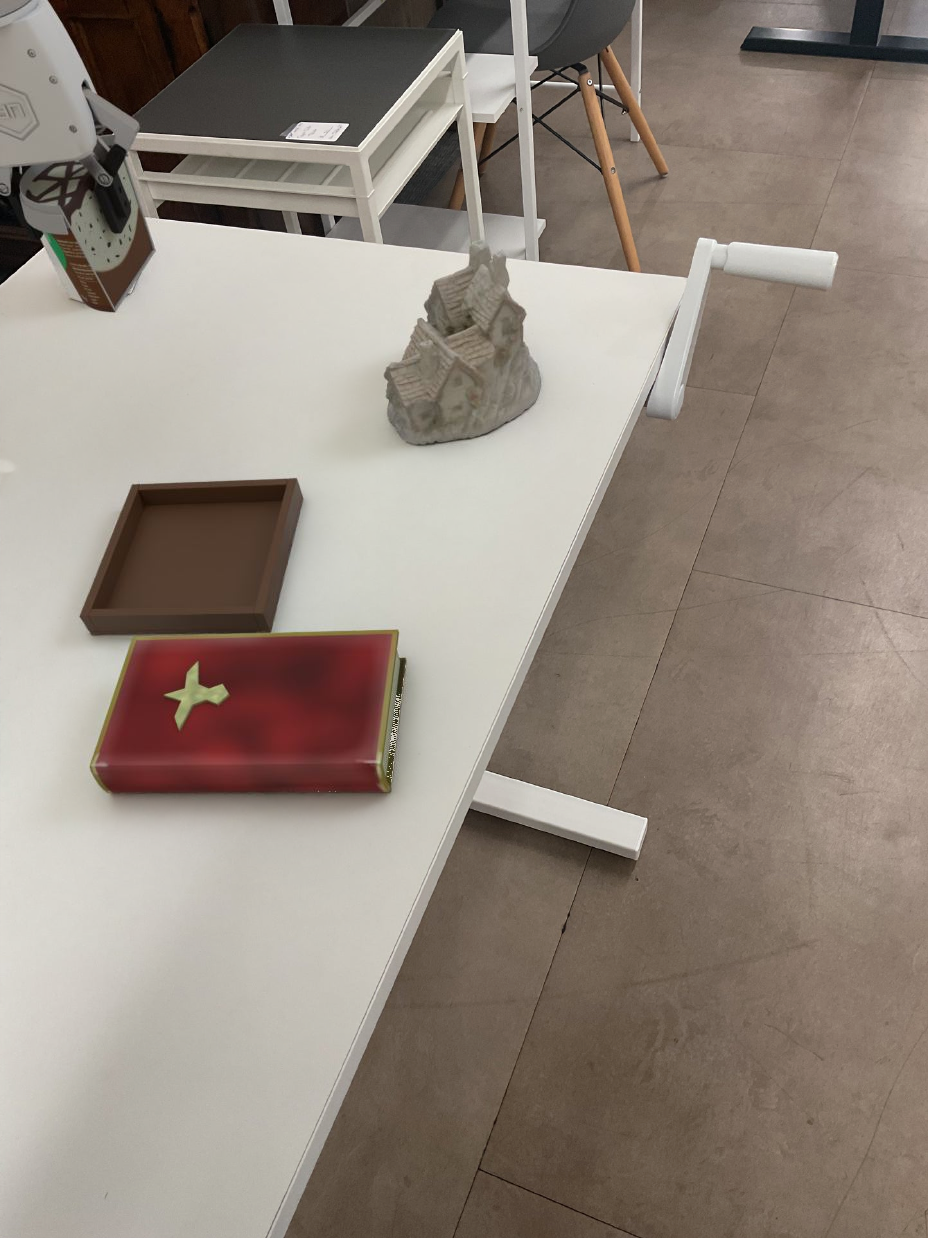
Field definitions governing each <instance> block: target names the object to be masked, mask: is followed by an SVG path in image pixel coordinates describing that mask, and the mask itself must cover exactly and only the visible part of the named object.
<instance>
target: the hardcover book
mask: <svg viewBox="0 0 928 1238" xmlns="http://www.w3.org/2000/svg"><path fill="white" fill-rule="evenodd" d="M399 635H400V631H399V629H397V628H396V629H367V630H364V629H362V630H332V631H331V630H329V631H327V630H325V631H324V630H323V631H287V632H285V631H284V632H283V631H281V632H252V633H205V634H166V635H140V636H139V635H136V636H135V635H134V636H132V637H131V641H130V643H129V646H128V649H127V653H126V656H125V658H124V661H123V665H122V668H121V670H120V673H119V677H118V679H117V683H116V685H115V689H114V692H113V695H112V697H111V700H110V703H109V706H108V708H107V712H106V714H105V718H104V721H103V724H102V728H101V730H100V732H99V737H98V739H97V742H96V745H95V748H94V751H93V754H92V757H91V761H90V763H89V769H90V770H89V771H90V773H91V775H92V776H93V778H94V780H95V782H96V783H97V785H98V786H99V787H100V788H101V789H102V790H103V791H104V792H106V793H107V794H233V793H234V794H238V793H239V794H243V793H244V794H245V793H246V794H252V793H255V794H256V793H257V794H258V793H259V794H261V793H265V794H266V793H267V794H269V793H391V792H390V789H391V790H392V788H391V779H392V778H390V777H392V771H393V761H394V756H393V755H394V754H392V753H395V751H393V750H391V751H389V750H390V749H394V748H395V747H394V746H395V745H392V746H390V745H391V744H390V743H391V742H394V741H396V740H394V741H391V742H390V740H391V736H392V735H391V733H392V732H393V733H396V732H397V731H396V732H394V731H395V730H393V731H392V729H394V728H392V727H395V726H398V725H395V724H398V723H397V722H398V720H397V719H395V720H393V719H394V718H393V717H395V716H398V717H399V710H400V708H398V707H400V706H398V707H395V706H397V705H395V703H396V702H399V701H401V700H399V701H397V700H396V698H399V699H401V694H402V687H403V688H404V686H403V678H404V673H405V674H406V669H405V665H406V666H407V658H406V657H400V656H399V651H398V644H399ZM404 679H405V678H404ZM399 694H400V695H399ZM396 695H397V696H400V697H396ZM395 701H396V702H395ZM399 703H400V702H399ZM396 704H398V703H396ZM399 705H400V704H399ZM395 708H398V709H395ZM394 709H395V710H398V711H395V712H398V713H395V712H394ZM394 713H395V714H394ZM396 714H398V715H396ZM394 715H395V716H394ZM398 717H395V718H398ZM393 721H395V722H393ZM393 723H395V724H393ZM393 725H395V726H393ZM395 728H397V727H395ZM396 730H397V729H396ZM396 734H397V733H396ZM393 735H395V734H393ZM394 737H396V736H394ZM394 739H396V738H394ZM395 743H396V742H395ZM395 743H392V744H395ZM390 747H393V748H390ZM394 750H395V749H394ZM389 752H391V753H389ZM390 754H392V755H390ZM389 757H390V758H389ZM391 763H392V764H391ZM389 766H390V767H389ZM390 768H391V769H390ZM387 771H389V772H387ZM393 772H394V771H393ZM390 775H391V776H390ZM387 776H389V777H387ZM318 791H319V792H318ZM329 791H330V792H329ZM335 791H336V792H335Z"/></svg>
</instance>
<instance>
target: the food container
mask: <svg viewBox="0 0 928 1238" xmlns="http://www.w3.org/2000/svg"><path fill="white" fill-rule="evenodd" d="M99 137H100V138H101V139H102V140H103V141H104V142H105V144H106V145H107V146H108V147H109V148H111V146H112V144H113V142H114V140H115V134H114V133H112V134H104V135H99ZM129 156H130V155H129V153H128V154H127V155H126V157H125V159H124V161H123V163H122V165H121V167H120V169H119V170H118V174H119V177H120V179H121V182H122V184H123V187H124V189H125V192H126V194H127V197H128V200H129V202H130V205H131V215H130V217H129V219H128V221H127V223H126V225H125V227H124V230H123V232H122V233H120V234H114V232H112V231H111V229H110V227H109V225H108V222H107V220H106V218H105V215H104V213H103V210H102V208H101V206H100V203H99V201H98V199H97V196H96V194H95V188H96V186H97V184H98V183H97V181H96V179H95V178H94V177H93V176H92V175H91V174H90V173H89V172H88V171H87V169H86V168H85V167H84V166H83V165H82V164H81V163H80V162H79V160H76V161H69V162H60V163H50V164H40V165H30V167H29V168H28V169H26V171H25V173H24V174H22V175H23V177H22V179H21V181H20V186H19V187H20V200H21V204H22V208H23V212H24V216H25V219H26V220H27V222H28V223H29V224H30V225H31V226H32V227H34V228H36V229H38V230H40V231H42V232H43V234H44V235H45V237H46V239H47V241H48V242H49V244H50V246H51V247H52V249H53V251H54V253H55V254H56V256H57V258H58V259H59V261H60V263H61V265H62V266H63V268H64V270H65V272H66V273H67V275H68V277H69V278H70V280H71V282H72V284H73V285H74V287H75V289H76V290H77V292H78V294H79V296H80V297H81V299H82V301H83V302H84V303H83V302H82V303H83V304H85V305H86V306H87V307H88V308H91V309H93V310H95V311H98V312H104V313H116V312H117V311H118V309H119V308H120V306H121V304H122V303H123V302H124V300H125V299H126V297H127V295H129V294H128V292H129V291H130V289H131V288H132V286H133V285H134V283H135V282H136V283H137V281H138V279H139V278H140V277H141V274H142V273H143V271H144V270H145V268H146V267H147V265H148V264H149V262H150V261H151V259H152V258H153V256H154V254H155V253H156V252H157V251H156V250H157V249H156V247H155V244H154V243H155V242H154V241H153V237H152V234H151V232H150V229H149V225H148V222H147V219H146V216H145V213H144V210H143V208H142V205H141V200H140V198H139V195H138V192H137V189H136V186H135V183H134V179H133V178H132V174H131V170H130V168H129V165H128V162H127V159H126V158H128V157H129ZM136 280H137V281H136Z"/></svg>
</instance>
